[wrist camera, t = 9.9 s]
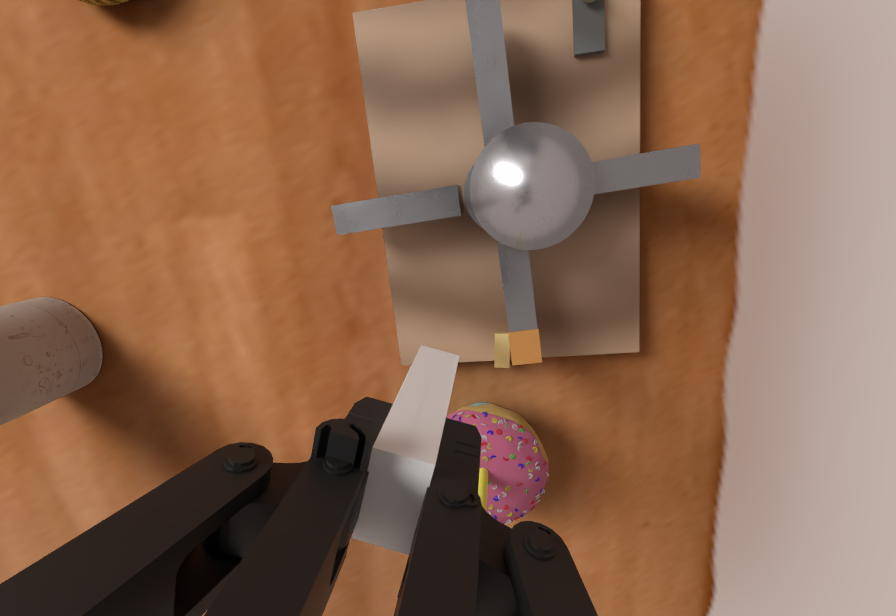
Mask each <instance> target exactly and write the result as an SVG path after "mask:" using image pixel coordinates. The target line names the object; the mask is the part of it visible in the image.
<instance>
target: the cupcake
mask: <svg viewBox="0 0 896 616" xmlns="http://www.w3.org/2000/svg"><path fill="white" fill-rule="evenodd" d="M446 418H449V419H453V420H456V421H460V422H463V423H467V424H471V425H474V426H476V427H477V429H478V431H479V433H480V435H481V437H482V440H481V455H480V470H479V486H478V495H479V496H480V498H481V503H482V506H483V508H484V509H485V510H486V511H487V512H488V513H489V514H490V515H491V516H492V517H493V518H495V519H496V520H497V521H499V522H501V523H502V524H504V523H506V524H509V523H511V522H512V521H513V520H516V519H518V518H519V517H523V516H524V514H526V513H528V512H530V511H531V510H532V509H533V508H534V507H535V506H536V504H537V503H538V502H539V501H540V500H541V499H540V497H541V495H542V494H544V493H545V490H544V487H545V484H546V481H547V478H548V476H549V464H548V458H547V455H546V453H545V450H544V448H543V445H542V443H541V441H540V439H539V438H538V436H537V434H536V433H535V431H534V430H533V428H532V427H531V426H530V425H529V424H528V423H527V422H526V421H525V420H524V419H523V418H522V417H521V416H520V415H518V414H517V413H515V412H514V411H511V410H508V409H505V408H502V407H500V406H498V405H495V404H491V403H475V404H472V405H469V406H464V407H462V408H460V409H458V410H457V411H455V412H453V413H451V414H449V415H447V416H446ZM543 491H544V492H543Z"/></svg>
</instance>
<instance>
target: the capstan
mask: <svg viewBox="0 0 896 616" xmlns="http://www.w3.org/2000/svg"><path fill="white" fill-rule="evenodd" d="M465 2H466V10H467V18H468V25H469V33H470V40H471V48H472V56H473V63H474V71H475V79H476V86H477V94H478V101H479V109H480V117H481V124H482V132H483V139H484V146H485V147H484V149H483V150H482V151H481V153H480V155H479V156H478V158H477V160H476V162H475V164H474V165H473V166H472V168H471V170H470V171H469V173H468V176H467V178H466V181H465V186H464V200H465V204H466V207H467V210H468V212H469V214H470V216H471V217H472V219H473V220H474V221H475V222H476V223H477V224H478V225H479V226H480V227H481V228H483V229H484V230H485V231H486V232H487V233H488V234H489V235H490V236H492V237H493V238H494V239H495V240H497V246H498V254H499V261H500V269H501V276H502V284H503V292H504V299H505V307H506V314H507V327H508V337H509V344H510V352H511V359H512V366H513V365H522V364H532V363H541V362H542V356H541V347H540V338H539V329H538V326H537V320H536V312H535V303H534V294H533V285H532V277H531V268H530V259H529V251H528V250H538V249H543V248H547V247H550V246H553V245H555V244H557V243H559V242H561V241H563V240H564V239H566V238H567V237H568V236H570V235H571V234H572V233H573V232H574V231H575V230H576V229H577V228H578V227H579V226H580V225H581V223H582V222H583V220H584V219H585V217H586V215H587V214H588V212H589V209H590V207H591V204H592V201H593V197H594V194H600V193H606V192H612V191H619V190H625V189H631V188H637V187H644V186H650V185H656V184H663V183H669V182H675V181H682V180H688V179H694V178H700V177H701V176H700V144H694V145H688V146H682V147H677V148H671V149H665V150H659V151H653V152H647V153H641V154H635V155H629V156H623V157H617V158H611V159H606V160H600V161H594V162H591V159H590V157H589V155H588V153H587V151H586V149H585V148H584V146H583V145H582V144H581V143H580V141H579V140H578V139H577V138H575V137H574V136H573V135H572V134H571V133H569V132H568V131H566V130H565V129H563V128H560V127H558V126H556V125H552V124H549V123H543V122H528V123H522V124H518V125H515V126H514V120H513V111H512V103H511V94H510V85H509V76H508V68H507V59H506V50H505V42H504V33H503V24H502V15H501V7H500V0H465ZM331 209H332V214H333V218H334V223H335V228H336V232H337V235H341V234H347V233H354V232H360V231H366V230H373V229H379V228H385V227H392V226H398V225H404V224H410V223H417V222H423V221H429V220H436V219H442V218H448V217H455V216H461V215H463V214H464V213H465V209H464V203H463V196H462V189H461V186H460V185H452V186H446V187H440V188H434V189H428V190H422V191H416V192H410V193H405V194H399V195H393V196H387V197H381V198H375V199H369V200H363V201H357V202H351V203H345V204H340V205H334V206H331Z"/></svg>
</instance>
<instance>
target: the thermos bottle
mask: <svg viewBox="0 0 896 616" xmlns="http://www.w3.org/2000/svg"><path fill="white" fill-rule="evenodd" d="M102 359H103V354H102V346H101V342H100V339H99V337H98V334H97V332H96V330H95V329H94V327H93V325H92V324H91V322H90V321H89V320H88V319H87V318H86V317H85V315H84V314H82V313H81V312H80V311H79V310H78V309H77V308H75V307H73V306H72V305H70V304H69V303H66V302H64V301H62V300H59V299H54V298H50V297H39V298H34V299H30V300H25V301H21V302H16V303H12V304H8V305H3V306H0V425H2V424H4V423H7V422H9V421H11V420H13V419H16V418H18V417H20V416H22V415H24V414H26V413H29V412H31V411H33V410H35V409H37V408H39V407H41V406H43V405H46V404H48V403H50V402H52V401H54V400H56V399H58V398H61V397H63V396H65V395H67V394H69V393H71V392H73V391H76V390H78V389H80V388H82V387H84V386H86V385H88V384H89V383H90V382H92V381H93V380H94V379H95V377H96V376H97V375H98V373H99V371H100V368H101V365H102Z"/></svg>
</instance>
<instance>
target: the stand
mask: <svg viewBox="0 0 896 616" xmlns="http://www.w3.org/2000/svg"><path fill="white" fill-rule="evenodd" d="M500 7H501V15H502V24H503V33H504V42H505V50H506V59H507V68H508V76H509V85H510V94H511V103H512V111H513V120H514V126H515V125H518V124H522V123H528V122H543V123H549V124H552V125H556V126H558V127H560V128H563V129H565V130H566V131H568V132H569V133H571V134H572V135H573V136H574V137H575V138H577V139H578V140H579V141H580V143H581V144H582V145H583V146H584V148H585V149H586V151H587V153H588V155H589V157H590V159H591V162H594V161H600V160H606V159H611V158H617V157H623V156H629V155H635V154H640V0H500ZM353 20H354V27H355V35H356V42H357V49H358V56H359V63H360V71H361V78H362V85H363V92H364V99H365V106H366V114H367V121H368V128H369V135H370V142H371V150H372V157H373V164H374V171H375V178H376V186H377V193H378V198H381V197H387V196H393V195H399V194H405V193H410V192H416V191H422V190H428V189H434V188H440V187H446V186H452V185H460V186H461V189H462V196H463V203H464V209H465V213H464V214H463V215H461V216H455V217H448V218H442V219H436V220H429V221H423V222H417V223H410V224H404V225H398V226H392V227H385V228H382V229H383V236H384V243H385V250H386V257H387V265H388V272H389V279H390V286H391V293H392V301H393V308H394V315H395V322H396V329H397V337H398V344H399V351H400V358H401V365H402V366H406V365H412V363H413V361H414V359H415V357H416V355H417V352H418V350H419V348H420V346H421V345H423V346H426V347H430V348H434V349H437V350H441V351H445V352H448V353H452V354H456V355H459V361H458V362H475V361H493V360H495V366H494V367H496V368H509V362H510V359H511V352H510V344H509V337H508V327H507V314H506V307H505V299H504V292H503V284H502V276H501V269H500V261H499V254H498V246H497V240H495V239H494V238H493V237H492V236H490V235H489V234H488V233H487V232H486V231H485V230H484V229H483V228H481V227H480V226H479V225H478V224H477V223H476V222H475V221H474V220H473V219H472V217H471V216H470V214H469V212H468V210H467V207H466V204H465V200H464V186H465V181H466V178H467V176H468V173H469V171H470V170H471V168H472V166H473V165H474V164H475V162H476V160H477V158H478V156H479V155H480V153H481V151H482V150H483V149H484V147H485V146H484V139H483V132H482V124H481V117H480V109H479V101H478V94H477V86H476V79H475V71H474V63H473V56H472V48H471V40H470V33H469V25H468V18H467V10H466V2H465V0H425V1H419V2H413V3H407V4H401V5H396V6H390V7H384V8H378V9H372V10H366V11H360V12H354V13H353ZM528 251H529V259H530V268H531V277H532V285H533V294H534V303H535V312H536V320H537V326H538V329H539V338H540V347H541V356H542V358H544V357H562V356H579V355H596V354H614V353H631V352H639V305H640V187H637V188H631V189H625V190H619V191H612V192H606V193H600V194H594V197H593V201H592V204H591V207H590V209H589V212H588V214H587V215H586V217H585V219H584V220H583V222H582V223H581V225H580V226H579V227H578V228H577V229H576V230H575V231H574V232H573V233H572V234H571V235H570V236H568V237H567V238H566V239H564V240H563V241H561V242H559V243H557V244H555V245H553V246H550V247H547V248H543V249H538V250H528Z"/></svg>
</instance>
